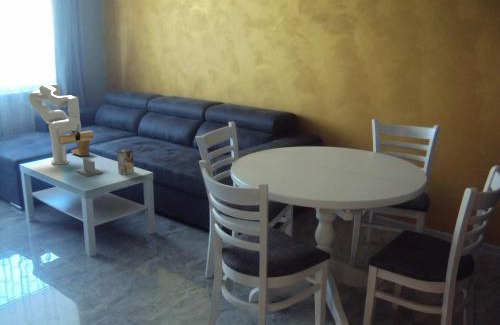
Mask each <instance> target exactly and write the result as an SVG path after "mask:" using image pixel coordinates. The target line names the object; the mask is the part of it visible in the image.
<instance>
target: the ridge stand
mask: <svg viewBox="0 0 500 325" xmlns="http://www.w3.org/2000/svg"><path fill="white" fill-rule="evenodd" d="M82 163H83V168H79V169H75V172H76V173H77V174H80V175H82V176H84V177H87V178H89V177H94V176H98V175H103V174H104V171H103V170H100V169H98V168H96V166H95V164H96V163H95V161H94V160H92V159H90V158H87V157H84V158H82Z"/></svg>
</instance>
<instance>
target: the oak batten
mask: <svg viewBox="0 0 500 325" xmlns="http://www.w3.org/2000/svg"><path fill="white" fill-rule="evenodd" d="M75 135H76V133H72V132H71V133H70V132H69V133H65V134H64V133H63V134H62V135H58V140H59V144H61V145H64V144H66V145H68V144H74V143H75V144H76V143H77V142H82V141H87V140H90V141H92V140H94V131H93V130H85V131H81V132H80V140H77V141H76V136H75Z"/></svg>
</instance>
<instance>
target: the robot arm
mask: <svg viewBox="0 0 500 325" xmlns="http://www.w3.org/2000/svg"><path fill="white" fill-rule="evenodd" d="M28 100H29V103H30V105H31V106H32V108H34V110H35V111H36V112H38V114H39V115H40V116H41V118H42V119H43V121H45V123H46V124H48V130H49V134H50V139H51V149H52V160H51V164H52V165H65V164H69V163H70V159H68V155H67V147H66V146H67V144H64V145H61V144H59V140H58V135H63V134H64V133H65V134H67V133H70V132H71V133H76V135H75V136H76V141H77V140H80V132H82V124H81V119H80V116H81V115H80V104H79V97H78V96H74V95H61V87H60V85H59V84H57V83H55V82H51V83H43V84H41V85H40V86H39V89H38V90H34V91H32V92H30V93H29V95H28ZM45 102H49V103H50V104H51V105H52V106H55V108H56V107H57V108H65V107H67V112H68V113H67V114H68V115H67V114H66V113H65V111H64V110H61V109H55V110H54V109H52V108H50V106H49V105H47V104H46V103H45Z"/></svg>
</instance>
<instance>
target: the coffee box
mask: <svg viewBox="0 0 500 325" xmlns="http://www.w3.org/2000/svg"><path fill="white" fill-rule="evenodd" d="M116 153H117V157H116V158H117V167H118V168H117V170H118V174H119V175H124V176H125V175H127V174H128V175H129V174H132V173H134V172H135V169H134V167H135V166H134V152H133V150H132V149H127V148H125V149H123V150H119V151H116Z"/></svg>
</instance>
